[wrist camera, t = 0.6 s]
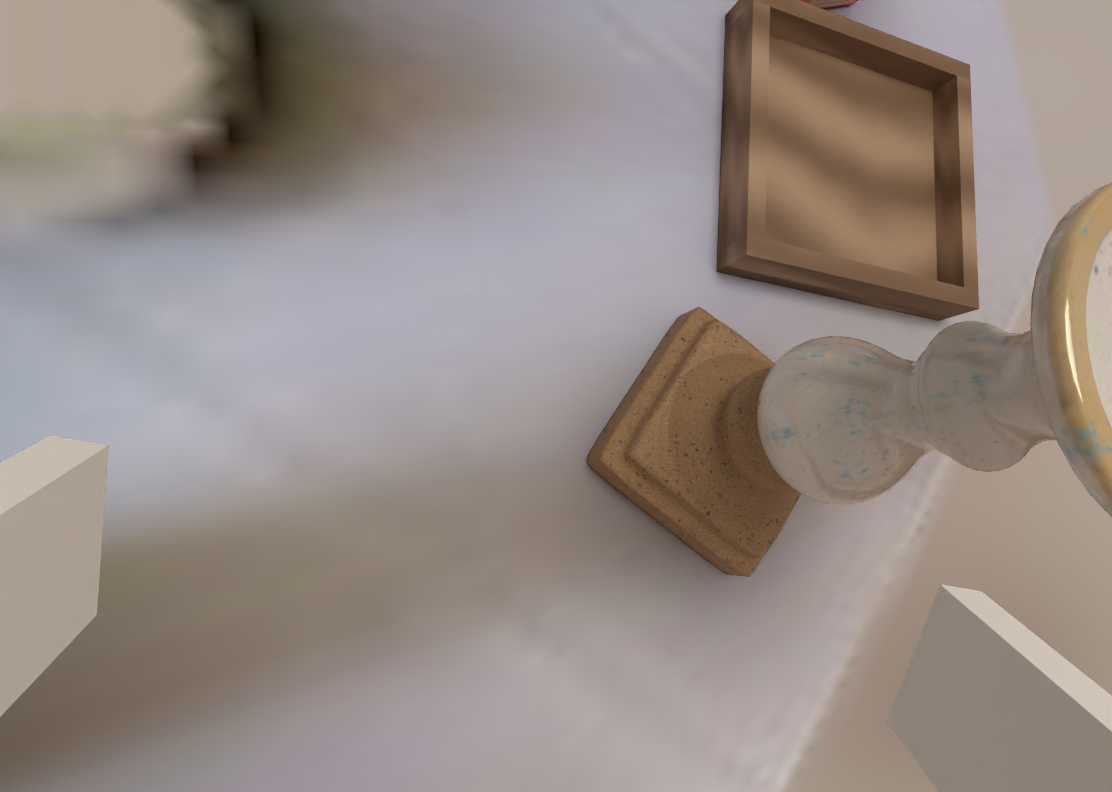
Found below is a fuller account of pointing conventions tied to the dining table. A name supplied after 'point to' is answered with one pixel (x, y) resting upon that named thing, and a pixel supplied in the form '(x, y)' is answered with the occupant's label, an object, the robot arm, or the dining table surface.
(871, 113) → the tray
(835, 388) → the candle holder
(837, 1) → the cracker box
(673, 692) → the dining table surface
